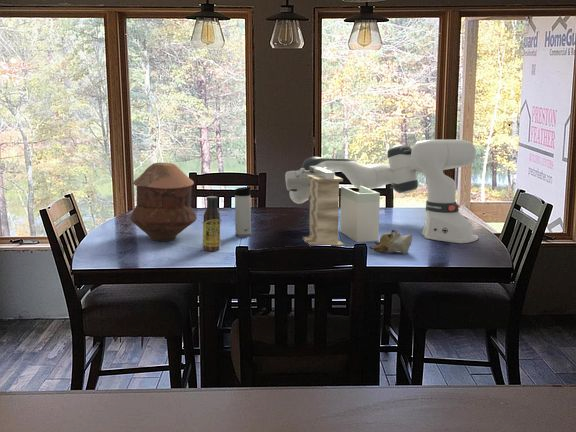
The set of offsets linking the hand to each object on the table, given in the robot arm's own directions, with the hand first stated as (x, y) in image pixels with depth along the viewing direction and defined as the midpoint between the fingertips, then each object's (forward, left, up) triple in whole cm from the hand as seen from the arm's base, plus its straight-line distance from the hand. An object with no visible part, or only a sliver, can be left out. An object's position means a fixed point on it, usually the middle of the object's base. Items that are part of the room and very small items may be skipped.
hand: (314, 169), depth 256 cm
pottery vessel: (+39, +45, -27) cm, 66 cm away
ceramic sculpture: (-37, -2, -28) cm, 46 cm away
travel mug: (+21, +19, -27) cm, 40 cm away
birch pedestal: (-11, +6, -27) cm, 30 cm away
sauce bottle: (+11, +43, -28) cm, 52 cm away
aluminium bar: (-7, +4, -1) cm, 8 cm away
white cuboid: (-11, -14, -27) cm, 33 cm away
